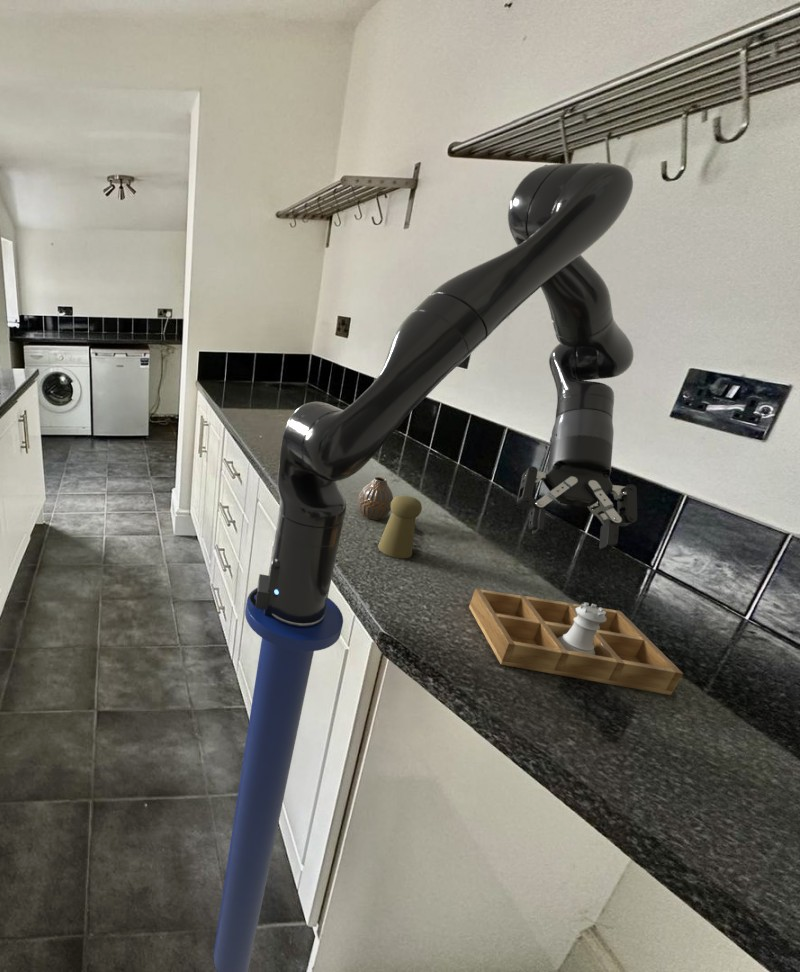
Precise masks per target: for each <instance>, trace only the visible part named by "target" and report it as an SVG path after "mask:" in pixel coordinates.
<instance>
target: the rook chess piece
mask: <svg viewBox="0 0 800 972" xmlns="http://www.w3.org/2000/svg"><path fill="white" fill-rule="evenodd" d="M580 605H581V606H580V607H577V608H576V612H577V614H578V616H577V617H575V618H574V624H573V626H572V627H571V628H570V630H569V631H568V632H567V633H566V634H564V635H563V636H561V637H559V638H558V640H559V641H560V643H561V644H562V645H563V647H564V648H565V649H566V651H573V652H579V653H585V654H591V655H595V651H594V645H593V640H594V636H595V633H596V631H597V630H599V629H600V626H599V624H600V623H602V622H605V621H606V620H607V619H606V617H605V613H606V612H605V611H604V609H605V608H604V609H603V607H598V608H599V610H598V609H596V607H597V606H598V605H597V604H595V603H591V605H590V603H589V602H583V603H581V604H580Z"/></svg>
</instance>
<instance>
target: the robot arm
mask: <svg viewBox="0 0 800 972" xmlns="http://www.w3.org/2000/svg"><path fill="white" fill-rule="evenodd" d="M633 188H634V179H633V175H632V172H631V171H630V170H629V169H628V168H626V167H625V166H623V165H619V164H615V163H611V162H595V163H594V162H586V163H585V162H584V163H583V162H582V163H578V162H577V163H553V164H547V165H542V166H539V167H537V168H534V169H533V170H532V171H530V172H528V174H527V175H526V176H525V177H524V178H523V179H522V180H521V181H520V182H519V183H518V184H517V187H516V188H515V190H514V192H513V194H512V196H511V198H510V201H509V204H508V210H507V223H508V228H509V231H510V234H511V236H512V238H513V240H514V242H515V244H516V246H514V247H512V248H510V249H509V250H507V251H506V252H504V253H502V254H500V255H497V256H495V257H494V258H491V259H490V260H487V261H485V262H483V263H480V264H478V265H476V266H474V267H472V268H470V269H467V270H465V271H463V272H462V273H459V274H458V275H456V276H454V277H452V278H451V279H448V280H447V281H445V282H443V283H442V284H441V285H439V286H438V287H437V288H436V289H434V290H433V291H432V292H431V293H430V294H428V296H427V297H426V298H425V299H424V300H423V301H422V302H421V303H420V304H419V305H418V306H417V307H416V308H415V309H413V311H412V312H411V313H410V314H409V315H408V316H406V318H405V319H404V320H403V321H402V322H401V324H400V325H399V327H398V328H397V330H396V332H395V334H394V336H393V338H392V341H391V343H390V346H389V348H388V352H387V356H386V358H385V361H384V364H383V366H382V368H381V371H380V373H379V374H378V376H377V377H376V378H375V380H374V381H373V382H372V383H371V385H370V386H369V387H368V388H367V389H366V390H365V391H364V392H363V393H362V394H360V396H359V397H358V398H357V399H355V400H354V401H353V402H352V403H351V404H349V406H347V407H346V408H345V409H341V408H339V407H336V406H334V405H332V404H329V403H328V402H327V403H326V402H323V401H311V402H307V403H304V404H302V405H300V406H299V407H298V408H296V410H295V411H294V412H293V413H292V414H291V415H290V416H289V418H288V420H287V421H286V424H285V427H284V430H283V433H282V438H281V444H280V453H279V464H278V470H277V471H278V472H277V492H278V495H279V507H278V508H279V509H278V515H277V521H276V528H275V534H274V540H273V541H274V542H273V545H272V549H271V556H270V560H269V568H268V574H262V573H259V574H258V581H257V587H256V588H257V589H256V588H254V589H255V590H254V589H253V590H251V592H250V593H249V594H250V600H251V602H252V603H253V605H254V606H256V608H262V609H264V615H265V616H270V617H272V618H274V619H275V620H277V621H279V622H280V623H283V624H285V625H288V626H292V627H298V628H308V627H313V626H316V625H318V624H320V623H321V622H322V621H323V619H324V616H325V609H326V603H327V598H329V592H330V588H331V584H332V578H333V573H334V569H335V564H336V560H337V554H338V550H339V544H340V540H341V535H342V530H343V525H344V521H345V516H346V511H347V502H346V499H345V496H344V495H343V493H342V491H341V490H340V487H339V486H338V482H339V481H343V480H346V479H348V478H350V477H351V476H353V475H355V474H356V473H358V472H359V471H360V470H361V469H363V467H365V466H366V464H367V463H368V462H369V461H370V460H371V459H372V458H373V457H374V456H375V455H376V454H377V453H378V451H379V450H380V449H381V448H382V446H384V444H385V443H386V442H387V441H388V440H389V438H390V437H391V436H392V435H393V433H395V431H396V430H397V429H398V428H399V426H400V425H401V424H402V423H403V422H404V421H405V420H406V418H407V417H408V416H409V415H410V414H411V413H412V411H414V409H416V407H418V406H419V405H420V403H421V402H422V401H424V399H426V397H428V395H429V394H431V392H432V391H433V390H434V389H435V388H436V387H437V386H438V385H439V384H440V383H441V382H442V381H443V380H444V379H445V378H446V377H447V376H448V375H449V374H450V373H452V371H454V370H455V369H456V368H457V367H458V366H459V365H460V364H461V363H463V362H464V361H465V360H466V359H467V358H468V357H469V356H470V355H472V354H473V353H474V352H475V350H477V348H478V347H479V346H480V345H482V344H483V342H485V341H486V340H487V339H488V338H489V337H490V335H491V334H492V333H494V331H495V330H496V329H497V328H498V327H499V326H500V325H501V324H502V323H503V322H504V321H505V320H506V319H507V318H509V316H511V315H512V314H513V313H514V312H515V311H516V310H517V309H518V308H519V307H520V306H522V305H523V304H524V303H525V302H526V301H527V300H528V299H529V298H530V297H532V295H534V294H535V293H536V292H538V290H539V289H540V288H541V291H542V293H543V296H544V298H545V300H546V303H547V306H548V310H549V315H550V318H551V322H552V326H553V331H554V334H555V335H554V336H555V337H556V340H557V341H558V344H557V345H556V346H555V347H554V348H553V349H552V350H551V352H550V354H549V357H548V365H549V369H550V372H551V376H552V378H553V381H554V385H555V388H556V396H557V400H556V401H557V402H556V409H555V410H556V411H555V419H554V424H553V427H552V430H551V436H550V438H549V444H550V446H549V453H548V454H549V455H548V463H547V471H546V472H545V471H540V470H539V469H538V468H537V467H536V466H530V467H528V468H527V469H526V470H525V471H524V472H523V473H522V475H521V480H520V483H519V489H518V494H517V499H516V504H517V505H518V506H519V507H524V508H527V509H528V510H529V518H528V526H527V527H528V530H529V531H531V535H535V536H539V535H541V534H542V533H544V530H545V529H544V528H545V522H546V511H547V509H546V508H545V507H546V506H548V504H550V503H551V502H552V501H554V500H556V501H557V502H559V504H560V505H572V506H574V507H577V508H581V509H585V508H587V509H588V511H589V512H590V513H591V514H592V515H593V516H595V517H596V518H597V519H598V520H599V522H600V523H601V526H600V531H599V541H598V542H599V543H598V549H599V550H602V551H609V550H610V549H612V548H613V547H615V546H617V545H618V543H619V532H620V527H621V528H625V527H627V526H629V525H631V524H632V523H636V522H637V521H638V493H637V492H638V491H637V490H638V488H637V486H636V485H635V484H633V483H632V484H627V485H626V486H625V485H618V484H617V485H616V484H613V483H612V481H611V477H610V476H611V470H612V459H613V447H614V436H615V435H614V433H615V432H614V424H613V418H614V417H613V415H614V404H615V392H614V390H613V388H612V387H611V386H610V385H609V384H606V383H603V382H600V381H594V380H602V379H610V378H616V377H618V376H621V375H623V374H624V373H625V372H627V370H629V368H630V367H631V366H632V364H633V362H634V357H635V356H634V354H635V353H634V348H633V344H632V343H631V340H630V339H629V338H628V336H627V334H626V333H625V332H624V331H623V330H622V329H621V327H620V326H619V325H618V323H617V322H616V320H615V319H614V314H613V307H612V299H611V293H610V290H609V288H608V286H607V284H606V282H605V281H604V279H603V277H602V276H601V275H600V274H599V273H598V272H597V270H596V269H595V268H594V267H593V266H592V265H591V264H590V263H589V262H588V261H587V260H586V259H585V257H584V256H583V255H582V254H584V253H585V252H586V251H587V250H588V249H590V248H591V247H592V246H593V245H595V244H596V243H597V241H599V240H600V239H601V238H602V237H603V236H604V235H605V234H606V233H607V232H608V231H609V230H610V229H611V228H612V227H613V226H614V224H616V222H617V220H618V219H619V218H620V216H621V214H622V213H623V211H624V210H625V209H626V207H627V204H628V202H629V200H630V199H631V196H632V192H633ZM541 481H542V482H543V484H544V485H545V487H546V488H547V490H548V491H549V492H547V493H546V494H544V495H543V496H542V497H540V498H539V499H536V498H534V497H533V495H534V490H535V486H536V485H537V484H538V483H540V482H541ZM609 493H610V494H611V495H612V496H613V500H614V501H616V505H617V506H616V507H617V509H615V508H614V503H613V502H612V501H611V498H609V497H608V494H609ZM256 594H257V597H256V600H255V598H254V596H255V595H256Z"/></svg>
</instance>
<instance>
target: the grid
mask: <svg viewBox="0 0 800 972" xmlns="http://www.w3.org/2000/svg"><path fill="white" fill-rule="evenodd" d="M581 605H582V604H579V603H572V602H565V601H558V600H553V599H546V598H539V597H533V596H528V595H527V596H526V595H519V594H512V593H506V592H499V591H493V590H486V589H480V588H474V591H473V594H472V597H471V599H470V603H469V606H468V609H469V611H470V612H471V614H472V616H473V618H474V619H475V621H476V623H477V624H478V626H479V628H480V630H481V632H482V633H483V635H484V637H485V639H486V641H487V643H488V645H489V646H490V648H491V650H492V652H493V654H494V655H495V657H496V659H497V661H498V662H499V664H500V665H502V666H507V667H513V668H519V669H522V670H523V669H524V670H528V671H529V670H530V671H535V672H541V673H545V674H551V675H557V676H562V677H569V678H574V679H579V680H584V681H591V682H595V683H602V684H607V685H612V686H619V687H622V688H623V687H624V688H630V689H635V690H641V691H645V692H652V693H656V694H662V695H667V696H672V694H673V692H674V691H675V689H676V687H677V686H678V684H679V682H680V681H681V679H682V677H683V675H684V673H683V671H681V669H679V668H678V667H677V666H676V665H675V664H674V663H673V662H672V661H671V659H669V658H668V657H667V656H666V655H665V653H663V652H662V650H660V649H659V647H657V646H656V645H655V644H654V643H653V642H652V641H651V640H650V639H649V638H648V636H647V635H645V634H644V633H643V632H642V631H641V630H640V629H639V628H638V627H637V626H636V625H635V624H634V622H632V620H630V619H629V618H628V617H627V616H626V615H625V614H624V613H623V612H622V611H621V610H619V609H618V610H617V609H616V610H615V609H612V608H611V609H610V608H603V607H602V608H603V609H604V611H605V612H606V613H605V617H606V619H607V620H606V621H605V622H602V623H600V624H599V626H600V629H599V630H597V631H596V633H595V636H594V640H593V645H594V651H595V655H591V654H585V653H579V652H573V651H566V649H565V648H564V647H563V645H562V644H561V643H560V641H559V640H558V638H559V637H561V636H563V635H564V634H566V633H567V632H568V631H569V630H570V628H571V627H572V626H573V624H574V618H575V617H577V616H578V614H577V612H576V608H577V607H580V606H581ZM599 608H600V607H597V606H596V609H598V610H599Z"/></svg>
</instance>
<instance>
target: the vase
mask: <svg viewBox="0 0 800 972" xmlns="http://www.w3.org/2000/svg"><path fill="white" fill-rule="evenodd" d="M393 499H394V496H393V492H392V489H391V488H390V486H389V485H388V482H387V479H386V478H384V477H381V476H376V477H373V479H372V480H371V481H370V482H369V483H367V484H366V485H365V486H363V488H362V489H361V491H360V492H359V494H358V498H357V509H358V510H359V512H360V514H361V515H362V516H363V517H364V518H366V519H369V520H375V521H377V520H382V519H384V518H385V517H387V516H388V515H389V513H390V512H391V502H392V500H393Z"/></svg>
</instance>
